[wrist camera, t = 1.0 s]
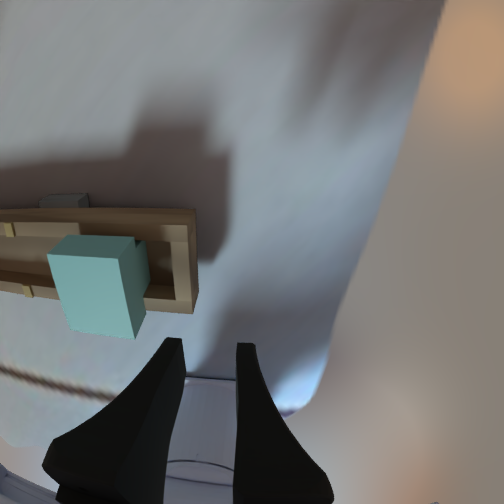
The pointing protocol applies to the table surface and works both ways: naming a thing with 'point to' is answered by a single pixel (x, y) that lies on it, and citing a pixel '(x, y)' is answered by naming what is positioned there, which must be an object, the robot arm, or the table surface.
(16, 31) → the table surface
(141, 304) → the block
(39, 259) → the wooden tray
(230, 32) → the table surface
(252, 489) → the robot arm
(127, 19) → the table surface
